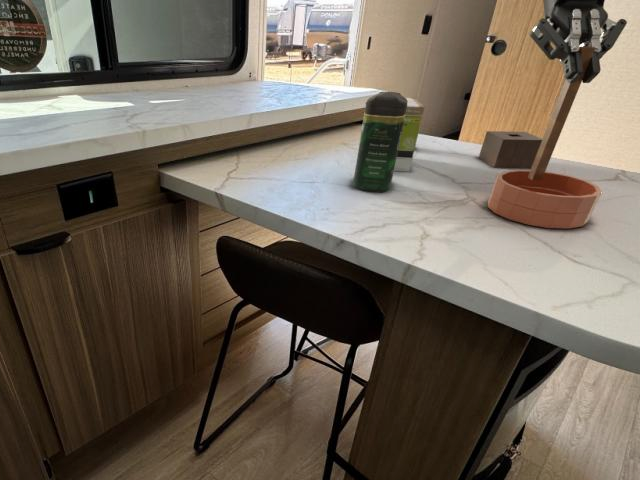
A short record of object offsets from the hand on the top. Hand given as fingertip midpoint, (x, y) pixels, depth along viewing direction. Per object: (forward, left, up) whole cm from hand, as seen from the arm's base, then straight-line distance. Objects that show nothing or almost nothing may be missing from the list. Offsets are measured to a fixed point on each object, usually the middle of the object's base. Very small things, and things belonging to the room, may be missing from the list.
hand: (583, 78), depth 63 cm
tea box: (+18, -35, -23) cm, 45 cm away
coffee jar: (+25, -16, -23) cm, 37 cm away
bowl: (-2, -2, -22) cm, 23 cm away
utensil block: (-12, -37, -22) cm, 45 cm away
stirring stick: (0, -2, -16) cm, 16 cm away
